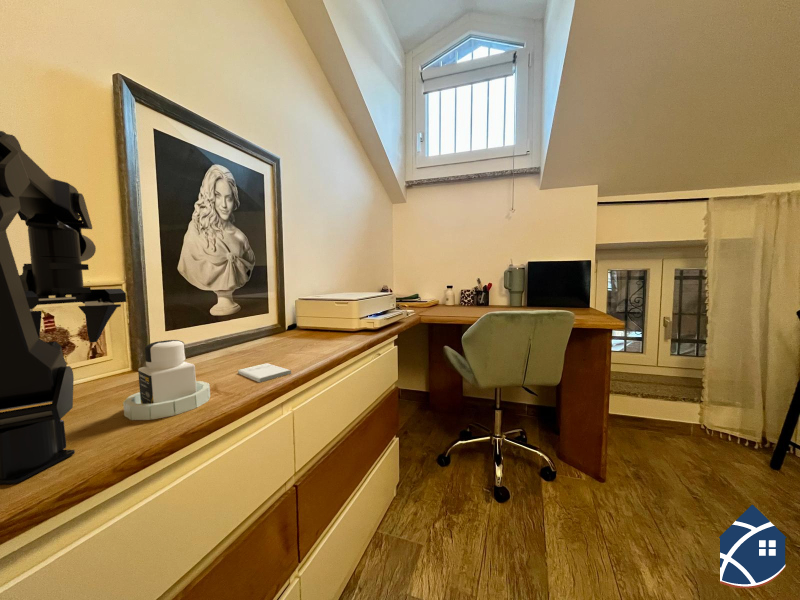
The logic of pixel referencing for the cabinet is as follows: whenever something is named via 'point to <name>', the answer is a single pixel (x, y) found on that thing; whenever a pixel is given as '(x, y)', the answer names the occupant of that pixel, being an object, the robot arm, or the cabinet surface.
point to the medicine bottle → (166, 373)
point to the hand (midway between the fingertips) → (65, 347)
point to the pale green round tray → (165, 404)
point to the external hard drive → (263, 372)
